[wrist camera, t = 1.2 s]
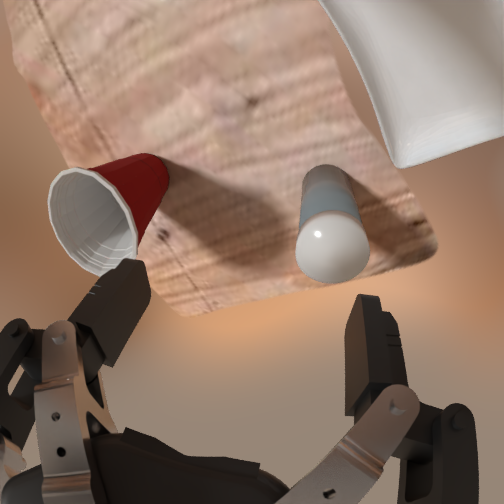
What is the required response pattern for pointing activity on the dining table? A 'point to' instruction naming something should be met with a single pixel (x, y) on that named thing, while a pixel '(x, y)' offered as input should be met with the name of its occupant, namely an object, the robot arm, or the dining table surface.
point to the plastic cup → (106, 209)
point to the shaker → (330, 228)
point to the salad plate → (428, 71)
